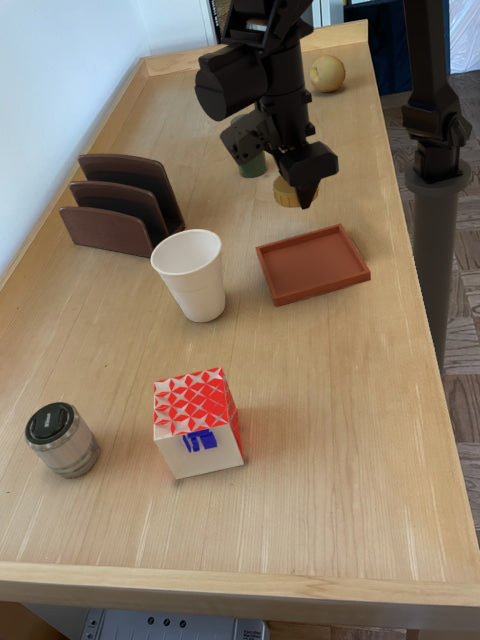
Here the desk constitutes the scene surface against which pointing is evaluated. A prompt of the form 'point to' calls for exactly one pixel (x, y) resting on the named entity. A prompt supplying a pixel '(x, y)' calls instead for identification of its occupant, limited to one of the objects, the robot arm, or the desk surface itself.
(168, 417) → the red white patterned cube
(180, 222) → the letter holder
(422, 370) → the desk surface
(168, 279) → the cup
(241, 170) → the jar
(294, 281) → the tray
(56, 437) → the camera lens
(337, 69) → the fruit
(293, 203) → the lid
